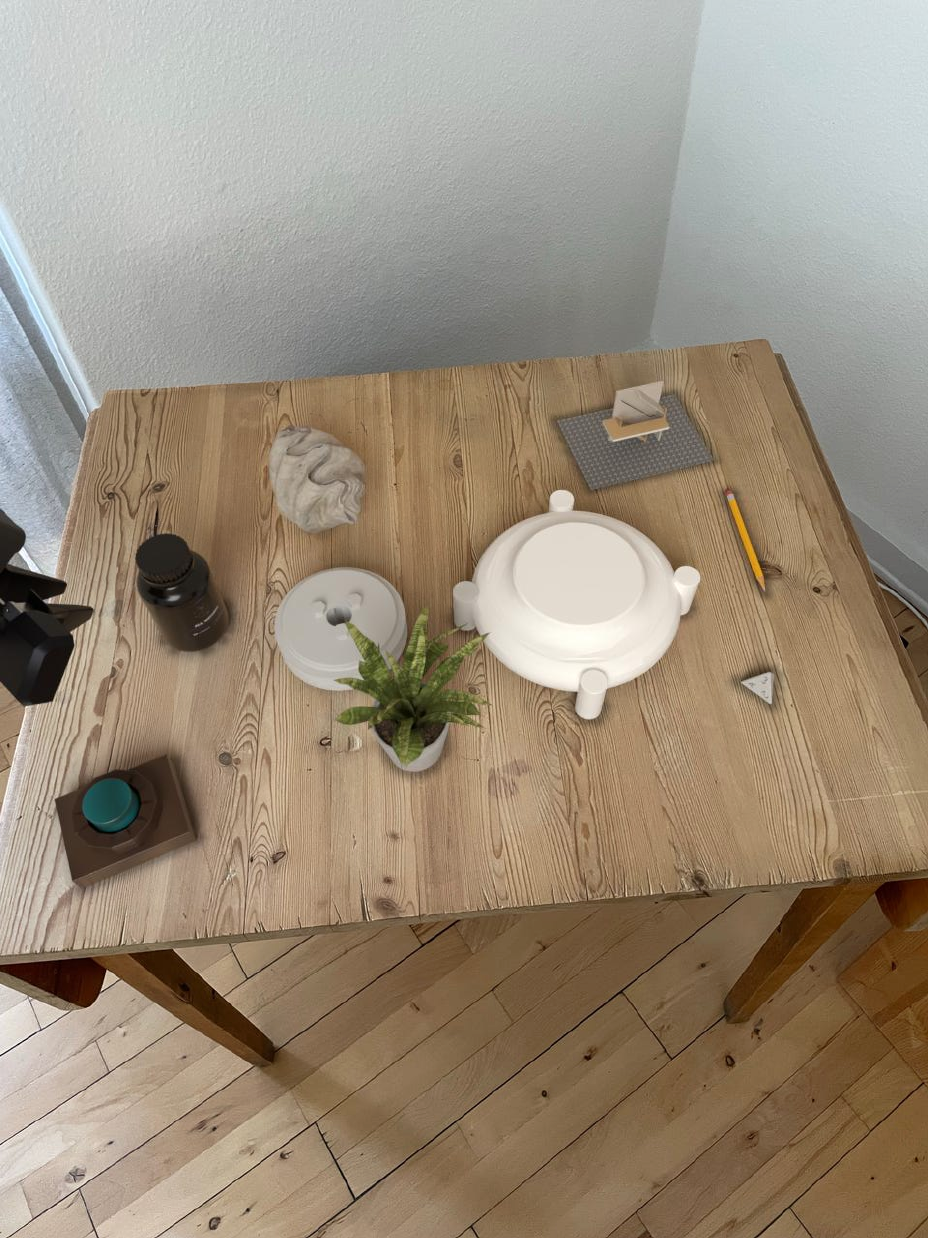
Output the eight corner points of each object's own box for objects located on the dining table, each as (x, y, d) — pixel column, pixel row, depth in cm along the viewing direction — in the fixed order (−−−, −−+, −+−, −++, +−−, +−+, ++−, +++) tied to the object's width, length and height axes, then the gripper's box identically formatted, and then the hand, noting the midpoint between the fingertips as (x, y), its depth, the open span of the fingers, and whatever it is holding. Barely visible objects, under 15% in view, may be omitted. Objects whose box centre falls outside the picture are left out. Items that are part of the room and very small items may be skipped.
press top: (96, 840, 73) (87, 831, 71) (87, 798, 75) (77, 789, 73) (144, 820, 73) (135, 811, 72) (133, 779, 75) (125, 770, 74)
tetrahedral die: (743, 673, 85) (740, 656, 83) (774, 674, 84) (771, 656, 82) (740, 703, 84) (737, 686, 81) (771, 705, 82) (769, 688, 80)
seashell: (280, 567, 92) (260, 506, 84) (276, 463, 100) (257, 398, 92) (376, 555, 93) (366, 493, 84) (365, 453, 101) (354, 387, 92)
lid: (273, 602, 90) (263, 573, 85) (393, 576, 91) (389, 547, 87) (291, 708, 83) (280, 683, 79) (420, 678, 84) (417, 652, 80)
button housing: (82, 889, 74) (63, 875, 71) (64, 807, 78) (45, 791, 75) (196, 840, 76) (183, 824, 73) (173, 763, 80) (160, 745, 77)
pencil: (731, 494, 97) (733, 489, 96) (767, 593, 89) (769, 589, 89) (724, 494, 97) (726, 490, 96) (760, 593, 89) (762, 590, 89)
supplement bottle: (224, 655, 86) (190, 585, 76) (156, 654, 86) (113, 584, 76) (235, 597, 90) (205, 524, 80) (170, 597, 90) (131, 523, 80)
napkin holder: (665, 449, 100) (677, 401, 94) (608, 462, 99) (617, 414, 93) (653, 429, 102) (664, 380, 96) (598, 441, 101) (605, 393, 95)
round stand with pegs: (446, 528, 94) (444, 484, 88) (666, 513, 95) (678, 468, 89) (462, 728, 82) (461, 692, 76) (716, 710, 82) (735, 673, 76)
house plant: (510, 819, 77) (517, 740, 63) (354, 844, 76) (326, 769, 62) (484, 679, 84) (484, 581, 71) (341, 699, 83) (314, 604, 70)
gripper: (-13, 584, 54) (180, 579, 68) (-156, 439, 61) (46, 461, 75) (-63, 726, 58) (131, 694, 71) (-192, 573, 65) (7, 571, 78)
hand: (78, 600), depth 74 cm, fingers open, 4 cm apart
